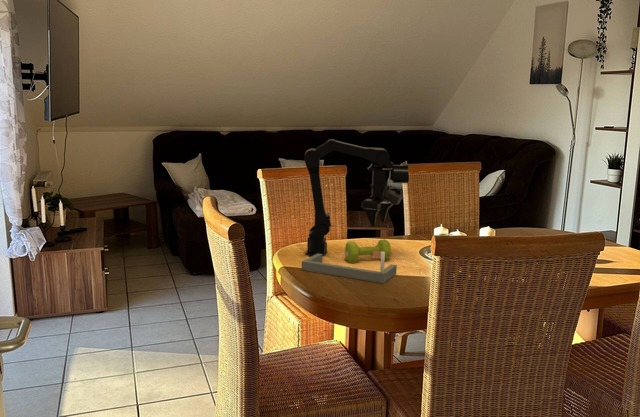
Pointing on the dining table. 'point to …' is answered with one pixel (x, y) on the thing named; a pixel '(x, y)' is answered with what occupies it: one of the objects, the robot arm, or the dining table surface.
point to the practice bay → (350, 269)
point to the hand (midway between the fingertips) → (378, 224)
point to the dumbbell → (366, 250)
